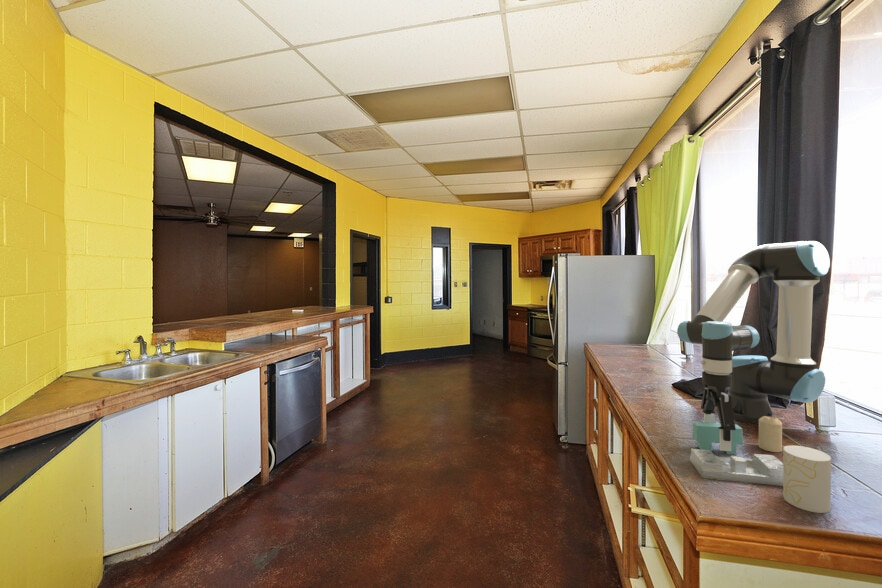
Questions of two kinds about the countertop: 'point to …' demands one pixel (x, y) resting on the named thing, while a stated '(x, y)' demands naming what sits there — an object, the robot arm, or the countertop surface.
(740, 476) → the white block holder tray
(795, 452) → the cup
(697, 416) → the countertop surface
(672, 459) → the countertop surface
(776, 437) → the candle
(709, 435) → the teal notched block
